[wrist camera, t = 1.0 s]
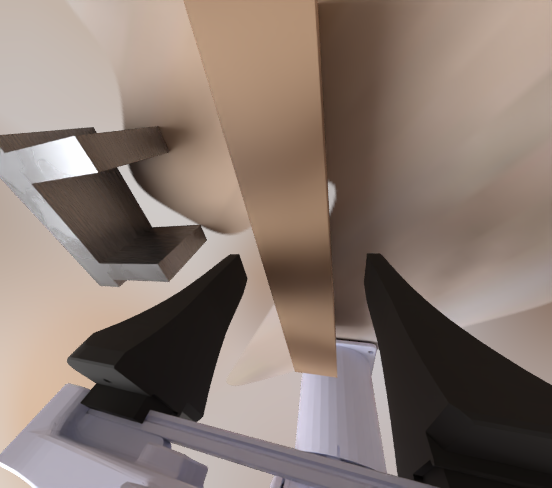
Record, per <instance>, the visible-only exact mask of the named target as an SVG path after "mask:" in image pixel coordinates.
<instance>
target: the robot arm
mask: <svg viewBox="0 0 552 488" xmlns="http://www.w3.org/2000/svg"><path fill="white" fill-rule="evenodd" d="M246 282H247V276H246V273H245V270H244V267H243V264H242V261H241V258H240V255H239V254H230V255H229V256H227V257H226V258H225V259H223V260H222V261H221V262H219V263H218V264H217V265H216V266H214V267H213V268H212V269H210V270H209V271H208V272H206V273H205V274H204V275H203V276H201V277H200V278H199V279H197V280H196V281H194V282H193V283H192V284H190V285H189V286H187V287H186V288H184V289H183V290H181V291H180V292H178V293H177V294H175V295H173V296H172V297H170V298H169V299H167V300H165V301H163V302H161V303H160V304H158V305H156V306H154V307H152V308H150V309H148V310H146V311H144V312H142V313H140V314H138V315H136V316H134V317H132V318H130V319H127V320H125V321H123V322H121V323H118V324H116V325H113V326H110V327H108V328H105V329H103V330H100V331H98V332H95V333H93V334H92V335H91V336H90V337H89V338H88V339H87V340H86V341H85V342H84V343H83V344H82V345H81V346H80V347H78V348H77V349H76V350H75V351H74V352H73V354H71V355H70V356H69V357H68V359H67V363H68V364H69V365H70V366H71V367H72V368H73V369H75V370H76V371H78V372H79V373H81V374H82V375H84V376H86V377H88V378H89V379H90V380H92V381H93V382H95V383H96V385H95V386H94V387H93V388H92V389H91V390H90V389H87V388H85V387H81V386H77V385H73V384H70V383H68V384H65V386H64V387H63V388H62V389H61V390H60V391H59V392H58V393H57V394H56V395H55V396H54V397H53V398H52V399H51V400H50V402H49V403H48V404H47V405H46V406H45V407H44V408H43V409H42V410H41V411H40V413H38V414H37V415H36V416H35V418H34V419H33V420H32V421H31V422H30V423H29V424H28V425H27V426H26V427H25V428H24V429H23V430H22V432H21V433H20V434H19V435H18V436H17V437H16V438H15V439H14V440H13V441H12V442H11V443H10V444H9V445H8V446H7V447H6V448H5V450H4V451H3V452H2V453H1V454H0V466H1V467H3V468H5V469H7V470H9V471H11V472H12V473H14V474H16V475H17V476H19V477H20V478H21V479H23V480H24V481H25V482H27V483H28V484H29V485H30V486H31V487H33V488H203V484H204V480H205V477H206V474H207V471H208V468H207V466H205V465H203V464H201V463H199V462H197V461H195V460H193V459H191V458H189V457H188V456H186V455H185V454H182V453H180V452H177V451H174V450H172V449H171V443H174V444H177V445H181V446H184V447H187V448H190V449H193V450H196V451H200V452H203V453H206V454H209V455H212V456H215V457H218V458H222V459H225V460H228V461H231V462H235V463H237V464H241V465H244V466H247V467H250V468H253V469H256V470H260V471H263V472H266V473H269V474H272V475H274V477H273V479H272V481H271V484H270V487H269V488H552V385H550V384H549V383H547V382H545V381H543V380H542V379H540V378H538V377H537V376H535V375H533V374H531V373H530V372H528V371H526V370H524V369H523V368H521V367H520V366H518V365H517V364H515V363H513V362H512V361H510V360H509V359H507V358H505V357H504V356H502V355H501V354H499V353H497V352H496V351H494V350H493V349H491V348H490V347H488V346H487V345H485V344H483V343H482V342H481V341H479V340H477V339H476V338H475V337H473V336H472V335H470V334H469V333H468V332H466V331H465V330H463V329H462V328H461V327H459V326H458V325H456V324H455V323H454V322H452V321H451V320H450V319H448V318H447V317H446V316H445V315H443V314H442V313H441V312H440V311H438V310H437V309H436V308H435V307H433V306H432V305H431V304H430V303H429V302H428V301H426V300H425V299H424V298H423V297H422V296H421V295H420V294H419V293H418V292H416V291H415V290H414V289H413V288H412V287H411V286H410V285H409V284H408V283H407V282H406V281H405V280H404V279H403V278H402V277H401V276H400V275H399V274H398V272H397V271H396V270H395V269H394V268H393V267H392V266H391V265H390V264H389V263H388V261H387V260H386V259H385V258H384V257H383V256H382V255H381V254H367V259H366V269H365V278H364V286H365V293H366V300H367V304H368V308H369V311H370V315H371V319H372V323H373V326H374V330H375V334H376V337H377V341H378V345H379V350H380V355H381V361H382V367H383V372H384V379H385V386H386V391H387V399H388V405H389V413H390V419H391V427H392V434H393V442H394V449H395V458H396V466H397V473H398V476H394V475H390V474H387V471H386V465H385V459H384V452H383V446H382V440H381V434H380V428H379V422H378V415H377V410H376V403H375V398H374V391H373V385H372V379H371V375H372V370H373V365H374V360H375V356H376V351H377V349H376V345H374V344H371V343H362V342H353V341H344V340H336V355H337V378H336V377H329V376H322V375H315V374H308V373H302V382H301V393H300V404H299V414H298V424H297V434H296V446H295V449H294V448H290V447H286V446H282V445H279V444H275V443H271V442H267V441H264V440H260V439H256V438H253V437H249V436H245V435H242V434H238V433H234V432H231V431H227V430H223V429H219V428H216V427H212V426H208V425H204V424H201V423H197V421H198V420H200V419H201V418H202V417H203V415H204V410H205V405H206V402H207V397H208V393H209V389H210V384H211V381H212V377H213V373H214V370H215V366H216V363H217V359H218V356H219V353H220V350H221V347H222V344H223V341H224V338H225V334H226V332H227V329H228V327H229V325H230V322H231V320H232V318H233V315H234V313H235V311H236V309H237V307H238V305H239V302H240V300H241V298H242V295H243V293H244V289H245V286H246ZM170 442H171V443H170Z"/></svg>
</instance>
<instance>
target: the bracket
mask: <svg viewBox="0 0 552 488" xmlns="http://www.w3.org/2000/svg"><path fill="white" fill-rule="evenodd" d="M168 152H169V151H168V149H167V146H166V144H165V142H164V139H163V137H162V135H161V132H160V130H159V128H158V126H157V127H148V128H139V129H130V130H121V131H113V132H104V133H96V131H95V129H94V127H91V128H78V129H67V130H55V131H44V132H32V133H20V134H8V135H0V178H1V179H2V181H3V182H4V183H5V184H6V185H7V186H8V187H9V188H10V189H11V190H12V191H13V192H14V194H15V195H16V196H18V198H19V199H20V200H21V201H22V202H23V203H24V204H25V205H26V206H27V208H28V209H29V210H30V211H31V212H32V213H33V214H34V215H35V216H36V217H37V218H38V219H39V221H40V222H41V223H42V224H43V225H44V226H45V227H46V228H47V229H48V230H49V231H50V232H51V233H52V234H53V236H54V237H55V238H56V239H57V240H58V241H59V242H60V243H61V244H62V245H63V246H64V248H65V249H66V250H68V252H69V253H70V254H71V255H72V256H73V257H74V258H75V259H76V260H77V262H78V263H79V264H80V265H81V266H82V267H83V268H84V269H85V270H86V271H87V272H88V273H89V274H90V276H91V277H92V278H93V279H94V280H95V281H96V282H97V283H98V284H99V285H100V286H113V287H119V286H121V285H122V284H123V283H124V282H125V281H127V280H137V281H160V282H169V281H170V280H171V279H172V278H173V277H174V276H175V275H176V273H177V272H178V271H179V270H180V269H181V268H182V267H183V266H184V265H185V264H186V263H187V261H188V260H189V259H190V258H191V257H192V256H193V255H194V254H195V253H196V252H197V250H198V249H199V248H200V247H201V246H202V245H203V244H204V243H205V242H206V241H207V239H206V237H205V234H204V232H203V230H202V228H201V225H187V226H169V227H152V226H151V225H150V223H149V221H148V219H147V218H146V216H145V214H144V213H143V211H142V209H141V208H140V206H139V204H138V203H137V201H136V199H135V197H134V196H133V194H132V192H131V190H130V189H129V187H128V185H127V184H126V182H125V180H124V179H123V177H122V175H121V174H120V172H119V170H118V168H117V167H119V166H123V165H126V164H130V163H133V162H137V161H140V160H144V159H147V158H151V157H154V156H158V155H161V154H165V153H168Z"/></svg>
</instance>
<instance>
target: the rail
mask: <svg viewBox="0 0 552 488" xmlns="http://www.w3.org/2000/svg"><path fill="white" fill-rule="evenodd" d="M184 4H185V7H186V10H187V14H188V17H189V20H190V24H191V27H192V30H193V34H194V37H195V40H196V44H197V47H198V50H199V54H200V57H201V60H202V64H203V67H204V70H205V74H206V77H207V80H208V83H209V87H210V90H211V93H212V97H213V100H214V103H215V107H216V110H217V113H218V117H219V120H220V123H221V127H222V130H223V133H224V137H225V140H226V143H227V147H228V150H229V153H230V157H231V160H232V163H233V167H234V170H235V173H236V177H237V180H238V183H239V187H240V190H241V193H242V197H243V200H244V203H245V207H246V210H247V213H248V216H249V220H250V223H251V226H252V230H253V233H254V236H255V239H256V243H257V246H258V249H259V253H260V256H261V260H262V263H263V266H264V270H265V273H266V276H267V280H268V283H269V286H270V290H271V293H272V296H273V300H274V303H275V306H276V310H277V313H278V316H279V320H280V323H281V326H282V330H283V333H284V336H285V340H286V343H287V346H288V349H289V353H290V356H291V359H292V363H293V366H294V369H295V372H301V373H308V374H315V375H322V376H329V377H336V378H337V355H336V328H335V309H334V291H333V273H332V254H331V236H330V218H329V201H328V182H327V163H326V145H325V127H324V109H323V91H322V72H321V54H320V36H319V18H318V1H317V0H184Z"/></svg>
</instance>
